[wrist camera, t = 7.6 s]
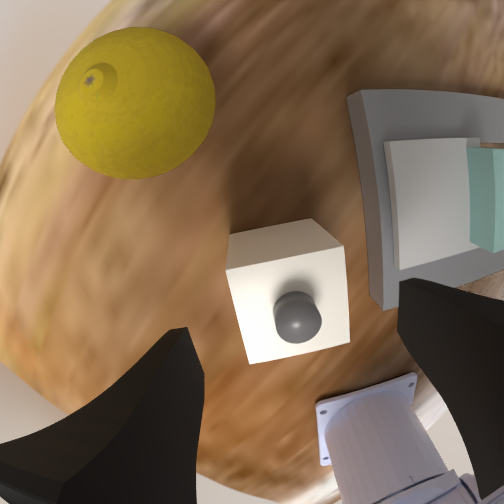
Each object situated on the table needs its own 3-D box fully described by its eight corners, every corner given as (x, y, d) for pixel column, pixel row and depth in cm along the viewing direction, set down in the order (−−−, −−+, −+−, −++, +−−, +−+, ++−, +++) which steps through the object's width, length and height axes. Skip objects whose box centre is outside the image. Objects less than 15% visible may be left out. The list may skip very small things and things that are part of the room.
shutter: (476, 243, 14) (505, 257, 11) (394, 265, 14) (420, 286, 11) (472, 137, 12) (504, 138, 9) (383, 141, 12) (413, 140, 9)
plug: (320, 291, 16) (357, 355, 11) (246, 307, 16) (250, 380, 11) (311, 217, 15) (353, 254, 9) (229, 234, 15) (224, 281, 9)
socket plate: (522, 246, 16) (538, 253, 14) (369, 295, 16) (383, 310, 14) (516, 106, 13) (534, 105, 11) (345, 97, 13) (360, 89, 11)
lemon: (201, 51, 12) (168, -39, 4) (236, 150, 14) (234, 137, 6) (102, 94, 12) (2, 59, 5) (133, 190, 14) (39, 225, 6)
